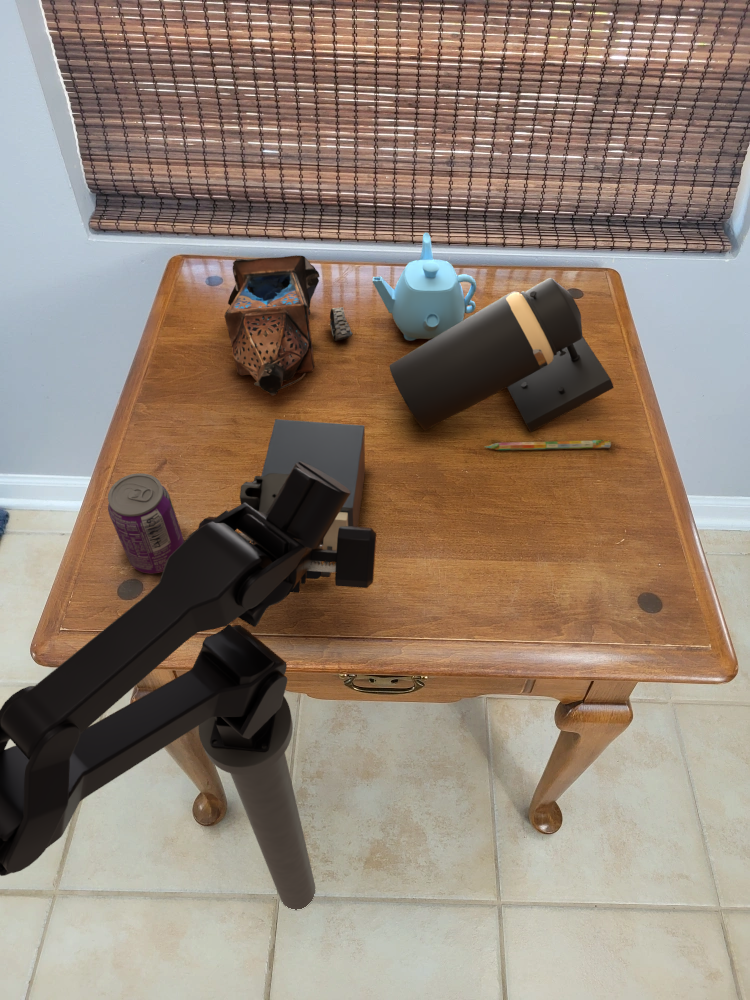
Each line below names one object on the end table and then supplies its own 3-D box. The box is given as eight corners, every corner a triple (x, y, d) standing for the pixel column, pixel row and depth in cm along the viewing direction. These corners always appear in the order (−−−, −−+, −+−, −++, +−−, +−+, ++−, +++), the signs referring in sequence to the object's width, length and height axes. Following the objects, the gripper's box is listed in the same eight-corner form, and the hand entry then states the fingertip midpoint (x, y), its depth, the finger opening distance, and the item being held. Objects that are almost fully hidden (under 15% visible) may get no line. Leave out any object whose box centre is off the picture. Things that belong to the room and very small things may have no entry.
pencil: (483, 452, 108) (610, 450, 109) (484, 447, 108) (612, 444, 108) (482, 446, 109) (608, 443, 110) (483, 440, 108) (610, 437, 109)
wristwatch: (330, 343, 125) (336, 338, 121) (327, 311, 125) (333, 305, 120) (349, 342, 126) (355, 337, 121) (346, 310, 126) (352, 304, 121)
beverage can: (192, 533, 99) (173, 472, 90) (177, 579, 95) (156, 520, 85) (138, 528, 100) (114, 467, 90) (121, 574, 95) (94, 515, 86)
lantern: (273, 343, 133) (274, 443, 116) (199, 284, 123) (189, 383, 106) (342, 285, 126) (354, 383, 109) (270, 218, 116) (271, 313, 99)
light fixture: (379, 344, 109) (544, 247, 103) (428, 413, 122) (577, 330, 116) (403, 407, 101) (584, 305, 95) (453, 473, 114) (614, 387, 108)
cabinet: (354, 554, 97) (352, 507, 90) (263, 547, 98) (255, 500, 90) (364, 474, 106) (364, 425, 98) (281, 468, 106) (275, 418, 99)
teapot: (363, 321, 127) (363, 261, 118) (422, 287, 133) (426, 228, 124) (428, 367, 120) (433, 307, 111) (488, 330, 126) (497, 270, 117)
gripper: (375, 488, 73) (382, 476, 89) (182, 475, 74) (222, 466, 89) (368, 602, 74) (376, 571, 90) (178, 588, 75) (218, 560, 91)
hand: (298, 540), depth 90 cm, fingers closed
